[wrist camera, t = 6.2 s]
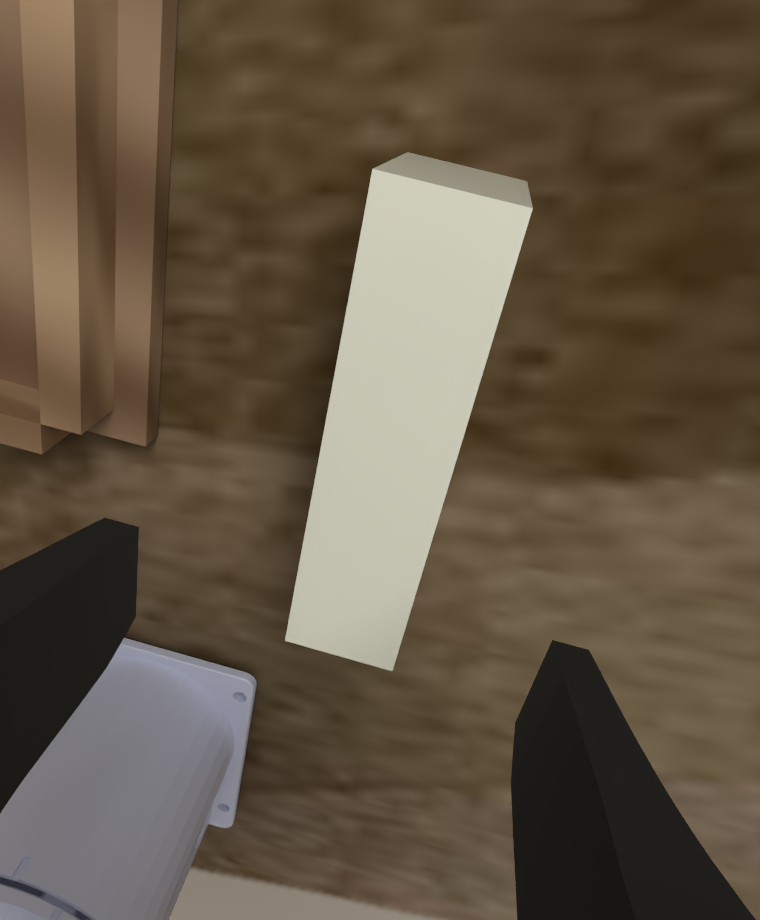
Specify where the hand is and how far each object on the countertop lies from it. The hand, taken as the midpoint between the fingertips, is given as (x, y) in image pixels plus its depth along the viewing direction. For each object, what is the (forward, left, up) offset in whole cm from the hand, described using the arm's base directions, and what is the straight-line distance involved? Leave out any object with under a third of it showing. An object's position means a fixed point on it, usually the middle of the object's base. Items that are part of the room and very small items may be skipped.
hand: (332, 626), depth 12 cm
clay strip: (+1, 0, -10) cm, 10 cm away
